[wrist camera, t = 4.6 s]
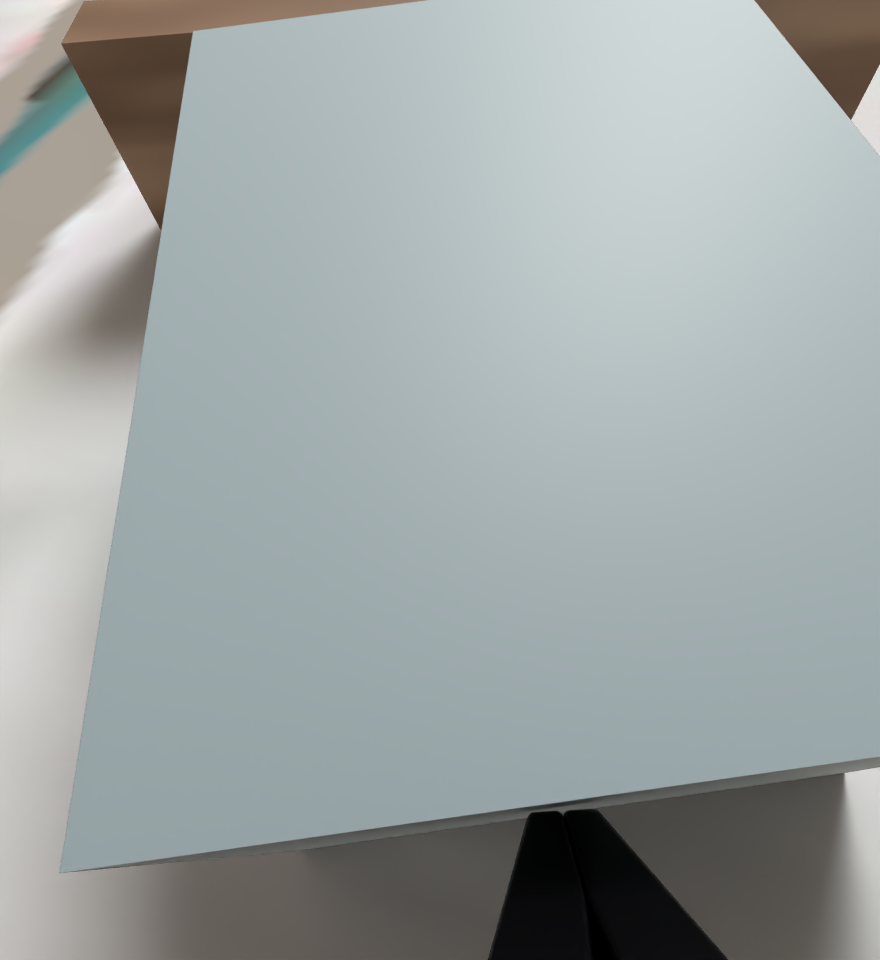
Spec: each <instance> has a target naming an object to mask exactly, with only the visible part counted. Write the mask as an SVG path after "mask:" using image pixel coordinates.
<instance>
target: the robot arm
mask: <svg viewBox="0 0 880 960" xmlns="http://www.w3.org/2000/svg"><path fill="white" fill-rule="evenodd" d="M488 960H728V959H727V958H726V956H725V955H724V954H723V953H722V952H721V951H720V950H719V948H718V947H717V946H716V945H715V944H714V943H713V942H712V940H711V939H710V938H709V937H708V936H707V935H706V934H705V932H704V931H703V930H702V929H701V928H700V927H699V925H698V924H697V923H696V922H695V921H694V920H693V919H692V917H691V916H690V915H689V914H688V913H687V912H686V911H685V909H684V908H683V907H682V906H681V905H680V904H679V903H678V901H677V900H676V899H675V898H674V897H673V896H672V895H671V893H670V892H669V891H668V890H667V889H666V888H665V887H664V885H663V884H662V883H661V882H660V881H659V880H658V878H657V877H656V876H655V875H654V874H653V873H652V872H651V870H650V869H649V868H648V867H647V866H646V865H645V864H644V862H643V861H642V860H641V859H640V858H639V857H638V856H637V854H636V853H635V852H634V851H633V850H632V849H631V848H630V846H629V845H628V844H627V843H626V842H625V841H624V839H623V838H622V837H621V836H620V835H619V834H618V833H617V831H616V830H615V829H614V828H613V827H612V826H611V825H610V823H609V822H608V821H607V820H606V819H605V818H604V817H603V815H602V814H601V813H600V812H599V811H597V810H595V809H578V810H567V811H566V812H565V813H564V815H562V814H561V812H559V811H542V812H532V813H530V814H529V816H528V817H527V820H526V824H525V828H524V831H523V835H522V838H521V842H520V846H519V849H518V853H517V857H516V860H515V864H514V867H513V871H512V875H511V878H510V882H509V885H508V889H507V893H506V896H505V900H504V904H503V907H502V911H501V914H500V918H499V922H498V925H497V929H496V933H495V936H494V940H493V943H492V947H491V951H490V954H489V958H488Z"/></svg>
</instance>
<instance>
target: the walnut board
mask: <svg viewBox="0 0 880 960" xmlns="http://www.w3.org/2000/svg"><path fill="white" fill-rule="evenodd" d="M418 1H426V0H96V1H85V2H83V4H82V6H81V8H80V10H79V12H78V13H77V15H76V17H75V19H74V21H73V23H72V25H71V27H70V28H69V30H68V32H67V34H66V36H65V37H64V39H63V41H62V43H61V44H62V46H63V48H64V50H65V52H66V54H67V55H68V57H69V59H70V61H71V63H72V65H73V67H74V69H75V70H76V72H77V74H78V76H79V78H80V80H81V82H82V83H83V85H84V87H85V89H86V91H87V93H88V95H89V97H90V98H91V100H92V102H93V104H94V106H95V108H96V109H97V112H98V113H99V115H100V117H101V119H102V121H103V123H104V125H105V126H106V128H107V130H108V132H109V134H110V136H111V137H112V139H113V141H114V143H115V145H116V147H117V149H118V151H119V153H120V154H121V156H122V158H123V160H124V162H125V164H126V166H127V168H128V169H129V171H130V173H131V175H132V177H133V179H134V181H135V182H136V184H137V186H138V188H139V190H140V192H141V194H142V196H143V197H144V199H145V201H146V203H147V205H148V207H149V209H150V210H151V212H152V214H153V216H154V218H155V220H156V222H157V224H158V225H159V227H160V229H161V230H162V224H163V218H164V212H165V205H166V199H167V193H168V186H169V180H170V174H171V167H172V161H173V155H174V149H175V142H176V136H177V130H178V123H179V117H180V111H181V104H182V98H183V92H184V86H185V79H186V73H187V67H188V60H189V54H190V48H191V41H192V35H193V31H199V30H206V29H214V28H221V27H229V26H236V25H244V24H252V23H259V22H267V21H274V20H282V19H289V18H297V17H305V16H312V15H320V14H327V13H335V12H343V11H350V10H358V9H365V8H373V7H380V6H388V5H396V4H403V3H411V2H418ZM754 1H755V2H756V3H757V4H758V5H759V7H760V8H761V9H762V10H763V12H764V13H765V14H766V15H767V17H768V18H769V19H770V20H771V22H772V23H773V24H774V25H775V27H776V28H777V29H778V30H779V32H780V33H781V34H782V35H783V37H784V38H785V39H786V40H787V42H788V43H789V44H790V45H791V46H792V48H793V49H794V50H795V51H796V53H797V54H798V55H799V56H800V58H801V59H802V60H803V61H804V63H805V64H806V65H807V66H808V68H809V69H810V70H811V71H812V73H813V74H814V75H815V76H816V78H817V79H818V80H819V81H820V83H821V84H822V85H823V86H824V87H825V89H826V90H827V91H828V92H829V94H830V95H831V96H832V97H833V99H834V100H835V101H836V102H837V104H838V105H839V106H840V107H841V109H842V110H843V111H844V112H845V114H846V115H847V116H848V117H849V119H850V120H851V119H852V117H853V115H854V113H855V111H856V109H857V107H858V105H859V103H860V101H861V100H862V98H863V96H864V94H865V92H866V90H867V88H868V86H869V84H870V82H871V80H872V78H873V76H874V74H875V72H876V70H877V68H878V67H879V65H880V0H754Z"/></svg>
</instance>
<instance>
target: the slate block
mask: <svg viewBox="0 0 880 960" xmlns="http://www.w3.org/2000/svg"><path fill="white" fill-rule="evenodd" d="M877 767H880V156H879V155H878V153H877V152H876V151H875V150H874V148H873V147H872V146H871V145H870V143H869V142H868V141H867V140H866V138H865V137H864V136H863V135H862V133H861V132H860V131H859V130H858V128H857V127H856V126H855V125H854V124H853V122H852V121H851V120H850V119H849V117H848V116H847V115H846V114H845V112H844V111H843V110H842V109H841V107H840V106H839V105H838V104H837V102H836V101H835V100H834V99H833V97H832V96H831V95H830V94H829V92H828V91H827V90H826V89H825V87H824V86H823V85H822V84H821V83H820V81H819V80H818V79H817V78H816V76H815V75H814V74H813V73H812V71H811V70H810V69H809V68H808V66H807V65H806V64H805V63H804V61H803V60H802V59H801V58H800V56H799V55H798V54H797V53H796V51H795V50H794V49H793V48H792V46H791V45H790V44H789V43H788V42H787V40H786V39H785V38H784V37H783V35H782V34H781V33H780V32H779V30H778V29H777V28H776V27H775V25H774V24H773V23H772V22H771V20H770V19H769V18H768V17H767V15H766V14H765V13H764V12H763V10H762V9H761V8H760V7H759V5H758V4H757V3H756V2H755V1H754V0H426V1H418V2H411V3H403V4H396V5H388V6H380V7H373V8H365V9H358V10H350V11H343V12H335V13H327V14H320V15H312V16H305V17H297V18H289V19H282V20H274V21H267V22H259V23H252V24H244V25H236V26H229V27H221V28H214V29H206V30H199V31H193V35H192V41H191V48H190V54H189V60H188V67H187V73H186V79H185V86H184V92H183V98H182V104H181V111H180V117H179V123H178V130H177V136H176V142H175V149H174V155H173V161H172V167H171V174H170V180H169V186H168V193H167V199H166V205H165V212H164V218H163V224H162V230H161V237H160V243H159V249H158V256H157V262H156V268H155V274H154V281H153V287H152V293H151V300H150V306H149V312H148V319H147V325H146V331H145V337H144V344H143V350H142V356H141V363H140V369H139V375H138V382H137V388H136V394H135V400H134V407H133V413H132V419H131V426H130V432H129V438H128V445H127V451H126V457H125V463H124V470H123V476H122V482H121V489H120V495H119V501H118V507H117V514H116V520H115V526H114V533H113V539H112V545H111V552H110V558H109V564H108V570H107V577H106V583H105V589H104V596H103V602H102V608H101V615H100V621H99V627H98V633H97V640H96V646H95V652H94V659H93V665H92V671H91V678H90V684H89V690H88V696H87V703H86V709H85V715H84V722H83V728H82V734H81V741H80V747H79V753H78V759H77V766H76V772H75V778H74V785H73V791H72V797H71V803H70V810H69V816H68V822H67V829H66V835H65V841H64V848H63V854H62V860H61V866H60V873H66V872H77V871H87V870H98V869H108V868H119V867H129V866H140V865H150V864H161V863H171V862H182V861H192V860H203V859H213V858H224V857H234V856H245V855H255V854H266V853H276V852H287V851H297V850H306V849H313V848H320V847H327V846H334V845H341V844H348V843H355V842H362V841H369V840H376V839H383V838H390V837H397V836H404V835H411V834H418V833H425V832H432V831H439V830H446V829H453V828H460V827H467V826H474V825H481V824H488V823H495V822H503V821H510V820H517V819H524V818H527V817H528V816H529V814H530V813H532V812H542V811H559V812H561V813H565V812H566V811H567V810H578V809H594V808H601V807H608V806H615V805H622V804H629V803H636V802H643V801H650V800H657V799H664V798H671V797H678V796H685V795H693V794H700V793H707V792H714V791H721V790H728V789H735V788H742V787H749V786H756V785H763V784H770V783H777V782H784V781H791V780H798V779H805V778H812V777H819V776H826V775H833V774H840V773H847V772H853V771H859V770H865V769H871V768H877Z"/></svg>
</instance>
